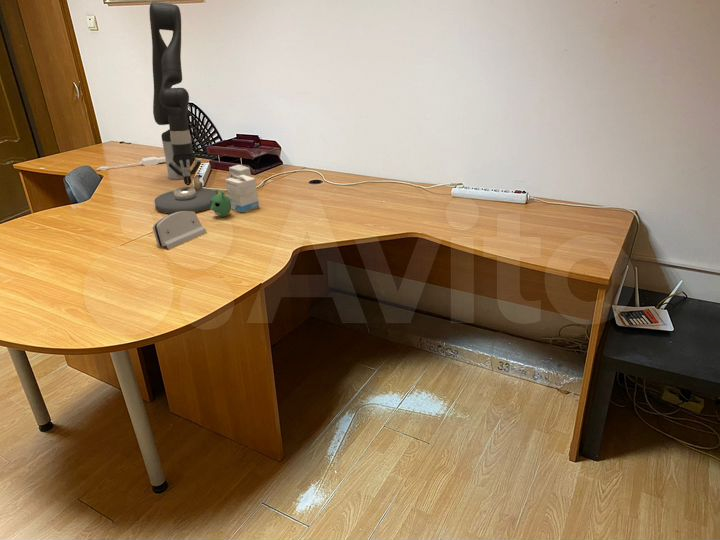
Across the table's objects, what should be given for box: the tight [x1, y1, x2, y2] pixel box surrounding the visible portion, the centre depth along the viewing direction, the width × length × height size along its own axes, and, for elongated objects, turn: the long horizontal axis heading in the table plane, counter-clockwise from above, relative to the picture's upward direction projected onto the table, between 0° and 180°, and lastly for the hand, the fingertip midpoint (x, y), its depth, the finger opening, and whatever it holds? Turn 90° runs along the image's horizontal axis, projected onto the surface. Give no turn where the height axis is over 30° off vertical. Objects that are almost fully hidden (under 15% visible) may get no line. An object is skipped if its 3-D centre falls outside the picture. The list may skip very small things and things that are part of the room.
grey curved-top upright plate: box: [152, 211, 208, 250], centre depth 165 cm, size 17×5×10 cm, turn 148°
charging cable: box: [96, 156, 166, 171], centre depth 253 cm, size 5×32×3 cm, turn 116°
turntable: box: [153, 176, 217, 215], centre depth 197 cm, size 24×24×8 cm
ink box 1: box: [228, 164, 252, 178], centre depth 206 cm, size 9×5×12 cm, turn 47°
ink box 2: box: [225, 174, 260, 214], centre depth 192 cm, size 9×8×13 cm
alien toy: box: [209, 189, 232, 218], centre depth 184 cm, size 7×8×10 cm
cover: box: [173, 186, 196, 201], centre depth 197 cm, size 8×8×3 cm
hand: (188, 184), depth 205 cm, fingers closed
